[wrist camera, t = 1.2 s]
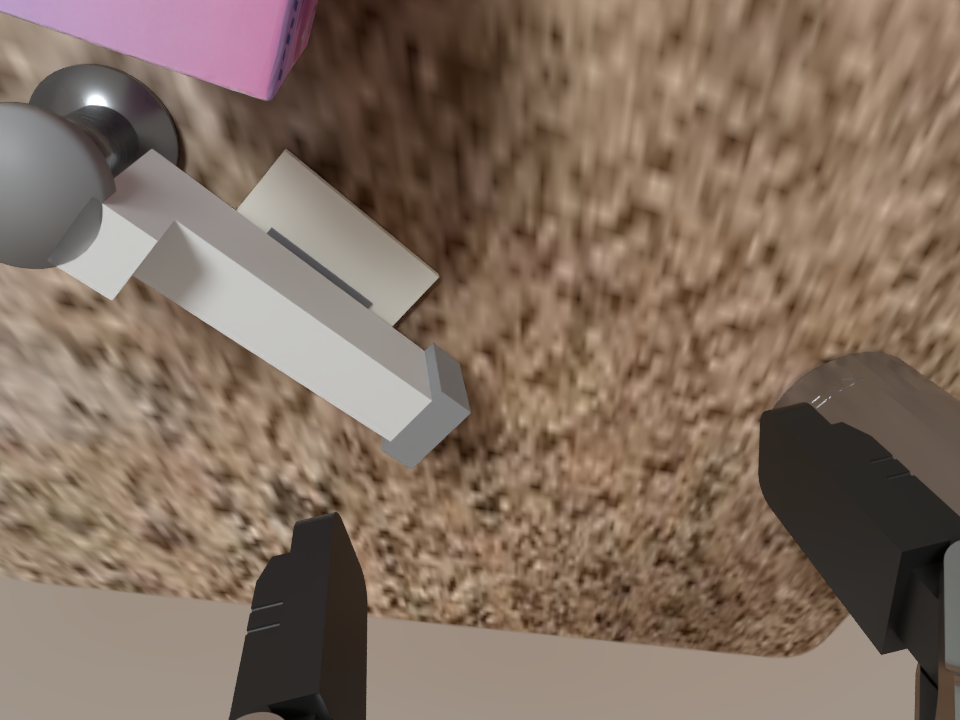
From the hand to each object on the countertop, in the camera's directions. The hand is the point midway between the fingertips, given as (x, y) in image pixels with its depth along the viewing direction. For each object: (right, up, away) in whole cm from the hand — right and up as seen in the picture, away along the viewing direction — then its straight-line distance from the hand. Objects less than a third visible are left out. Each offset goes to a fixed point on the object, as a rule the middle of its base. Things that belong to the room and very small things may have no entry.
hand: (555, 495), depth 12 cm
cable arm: (-10, +6, +14) cm, 18 cm away
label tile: (-9, +6, +16) cm, 19 cm away
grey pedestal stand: (-15, +11, +12) cm, 22 cm away
